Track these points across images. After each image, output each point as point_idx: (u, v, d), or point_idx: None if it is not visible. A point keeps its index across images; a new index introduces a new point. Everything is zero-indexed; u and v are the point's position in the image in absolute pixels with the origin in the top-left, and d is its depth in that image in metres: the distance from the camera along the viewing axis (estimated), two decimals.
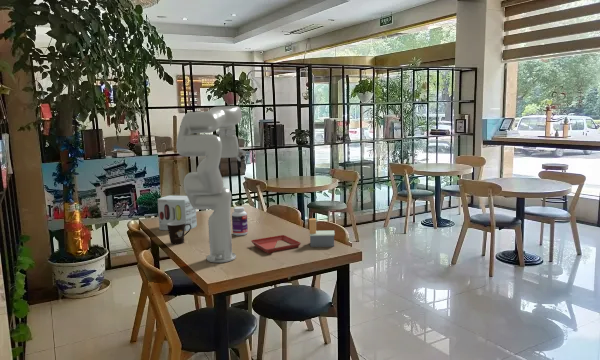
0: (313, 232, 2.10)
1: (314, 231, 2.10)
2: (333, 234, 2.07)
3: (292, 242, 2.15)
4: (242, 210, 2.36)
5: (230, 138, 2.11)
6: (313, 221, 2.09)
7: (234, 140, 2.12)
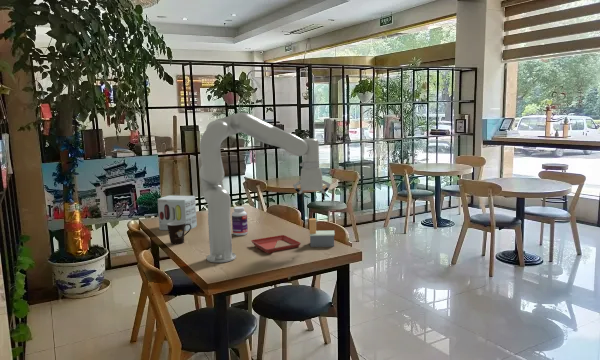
0: (313, 232, 2.10)
1: (314, 231, 2.10)
2: (333, 234, 2.07)
3: (292, 242, 2.15)
4: (242, 210, 2.36)
5: (315, 170, 2.05)
6: (313, 221, 2.09)
7: (319, 172, 2.05)
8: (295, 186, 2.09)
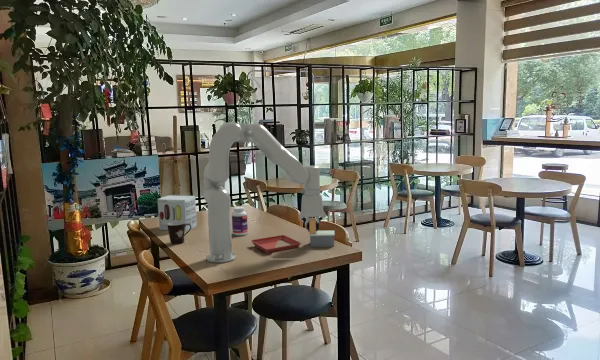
0: (313, 232, 2.10)
1: (314, 231, 2.10)
2: (333, 234, 2.07)
3: (292, 242, 2.15)
4: (242, 210, 2.36)
5: (316, 197, 2.07)
6: (313, 221, 2.09)
7: (320, 199, 2.07)
8: (301, 216, 2.10)
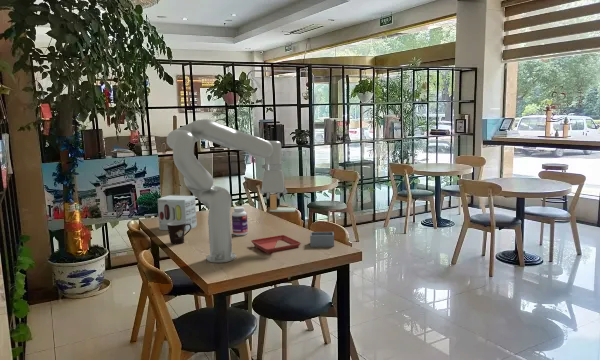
0: (274, 208, 2.08)
1: (275, 207, 2.08)
2: (293, 210, 2.05)
3: (292, 242, 2.15)
4: (242, 210, 2.36)
5: (276, 173, 2.05)
6: (274, 197, 2.08)
7: (280, 175, 2.05)
8: (262, 192, 2.09)
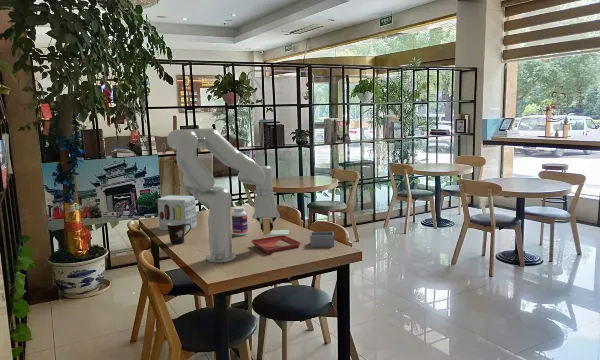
0: (267, 232, 2.11)
1: (268, 231, 2.11)
2: (286, 234, 2.08)
3: (292, 242, 2.15)
4: (242, 210, 2.36)
5: (268, 198, 2.07)
6: (267, 221, 2.10)
7: (272, 200, 2.07)
8: (254, 217, 2.11)
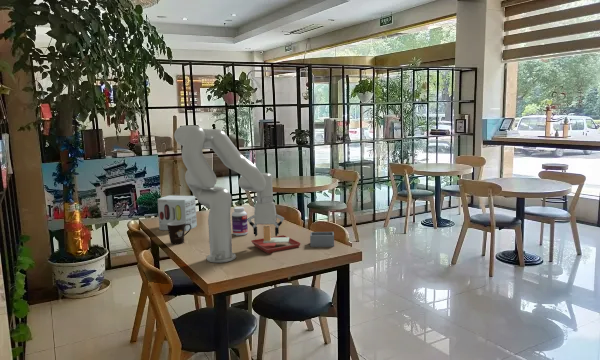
0: (267, 239, 2.11)
1: (268, 238, 2.11)
2: (287, 241, 2.08)
3: (292, 242, 2.15)
4: (242, 210, 2.36)
5: (268, 205, 2.07)
6: (267, 228, 2.10)
7: (272, 207, 2.08)
8: (249, 220, 2.11)
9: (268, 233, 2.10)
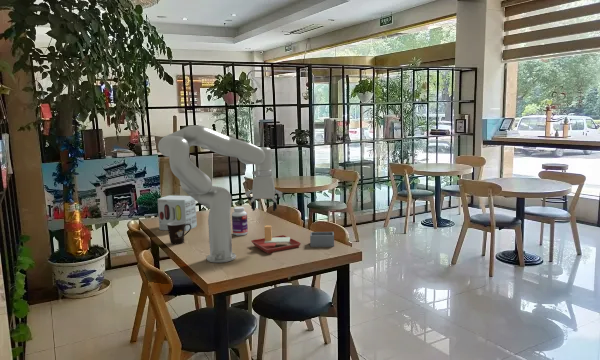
0: (268, 239, 2.11)
1: (269, 238, 2.10)
2: (288, 241, 2.08)
3: (292, 242, 2.15)
4: (242, 210, 2.36)
5: (267, 179, 2.06)
6: (268, 228, 2.10)
7: (271, 181, 2.06)
8: (247, 194, 2.09)
9: (269, 233, 2.10)
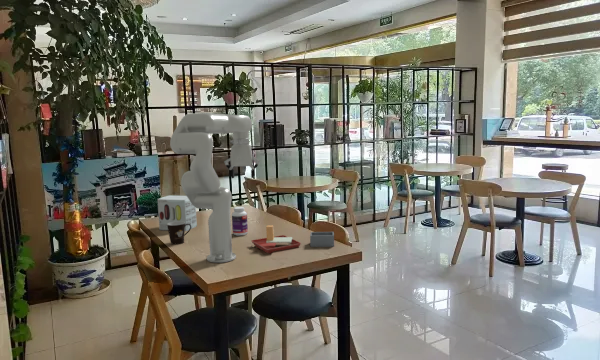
0: (270, 239, 2.10)
1: (271, 238, 2.10)
2: (290, 241, 2.08)
3: (292, 242, 2.15)
4: (242, 210, 2.36)
5: (244, 147, 2.14)
6: (270, 228, 2.10)
7: (248, 149, 2.14)
8: (226, 162, 2.17)
9: (271, 233, 2.10)
